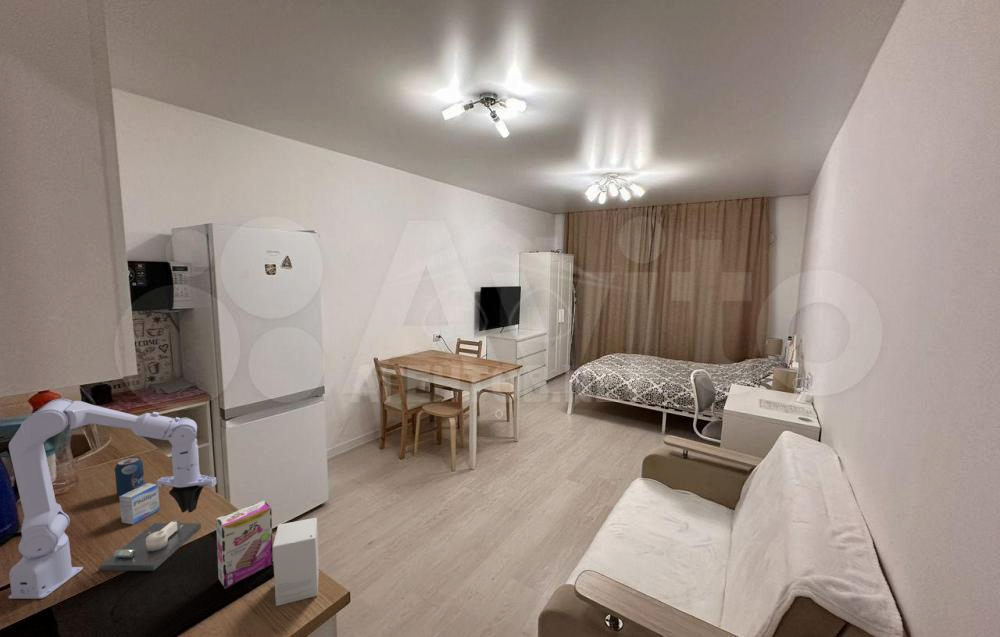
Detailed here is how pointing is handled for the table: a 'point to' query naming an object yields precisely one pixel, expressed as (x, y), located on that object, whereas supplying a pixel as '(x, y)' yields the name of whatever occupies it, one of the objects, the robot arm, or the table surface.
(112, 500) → the table surface
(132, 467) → the soda can
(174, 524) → the white long bulbous piece
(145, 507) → the medicine box
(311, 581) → the supplement box
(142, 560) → the base plate
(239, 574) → the candy bar box
